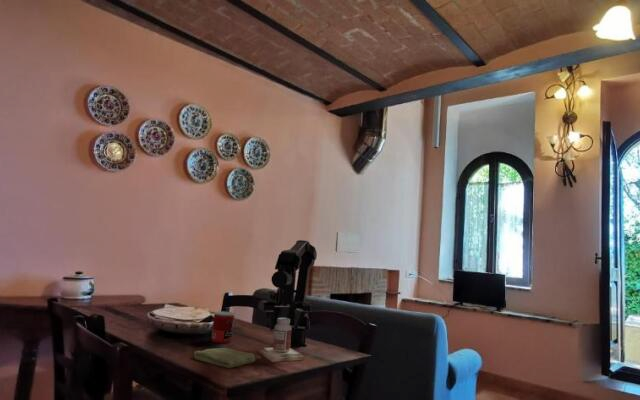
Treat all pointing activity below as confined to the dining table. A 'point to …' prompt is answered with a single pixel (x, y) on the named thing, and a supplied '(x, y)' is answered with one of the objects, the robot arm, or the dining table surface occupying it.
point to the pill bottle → (282, 335)
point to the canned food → (223, 327)
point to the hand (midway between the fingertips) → (283, 330)
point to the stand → (280, 355)
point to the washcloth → (224, 357)
